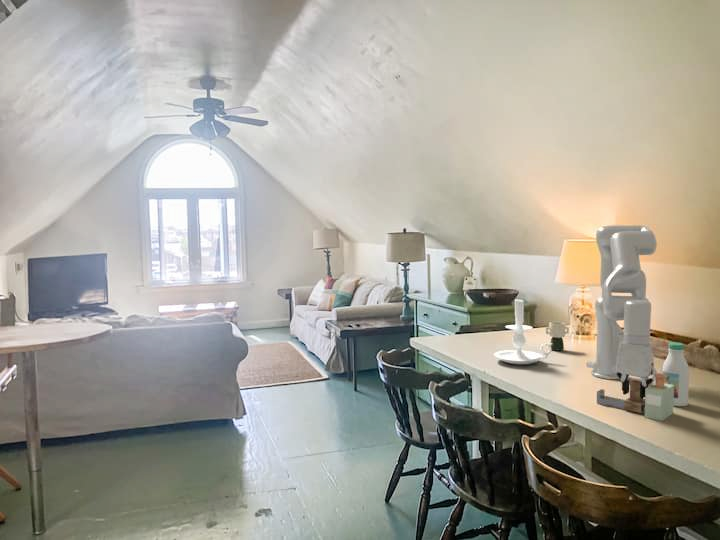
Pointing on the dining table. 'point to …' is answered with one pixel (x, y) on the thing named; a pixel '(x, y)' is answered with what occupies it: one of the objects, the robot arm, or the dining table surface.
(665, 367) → the milk bottle
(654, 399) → the cabinet
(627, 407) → the carriage
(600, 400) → the rail
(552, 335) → the character mug
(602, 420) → the dining table surface
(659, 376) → the gauge plunger
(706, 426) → the dining table surface
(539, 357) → the candlestick
